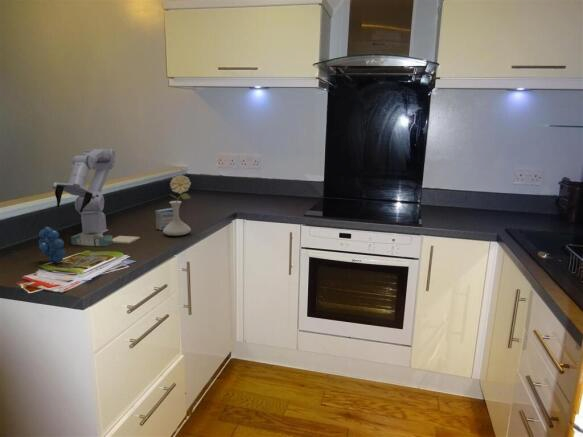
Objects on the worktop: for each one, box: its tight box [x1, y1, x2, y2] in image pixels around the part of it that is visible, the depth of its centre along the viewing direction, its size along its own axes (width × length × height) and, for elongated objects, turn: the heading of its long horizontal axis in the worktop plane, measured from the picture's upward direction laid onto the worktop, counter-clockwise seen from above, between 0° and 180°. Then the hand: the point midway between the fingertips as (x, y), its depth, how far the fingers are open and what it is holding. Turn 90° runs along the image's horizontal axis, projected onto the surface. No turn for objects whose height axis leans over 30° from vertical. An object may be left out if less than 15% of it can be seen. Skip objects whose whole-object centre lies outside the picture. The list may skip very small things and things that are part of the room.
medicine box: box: [154, 207, 173, 231], centre depth 187 cm, size 8×4×9 cm, turn 137°
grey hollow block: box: [80, 232, 104, 247], centre depth 163 cm, size 6×6×4 cm
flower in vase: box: [162, 174, 192, 237], centre depth 175 cm, size 13×11×25 cm
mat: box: [112, 235, 141, 245], centre depth 169 cm, size 8×9×1 cm
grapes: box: [38, 226, 66, 263], centre depth 139 cm, size 12×7×12 cm, turn 62°
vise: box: [70, 233, 114, 247], centre depth 163 cm, size 5×14×3 cm, turn 79°
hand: (69, 208), depth 156 cm, fingers open, 7 cm apart
